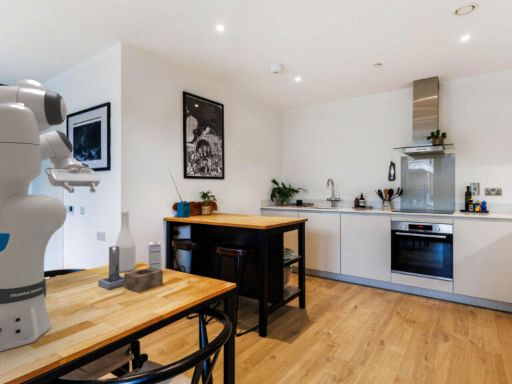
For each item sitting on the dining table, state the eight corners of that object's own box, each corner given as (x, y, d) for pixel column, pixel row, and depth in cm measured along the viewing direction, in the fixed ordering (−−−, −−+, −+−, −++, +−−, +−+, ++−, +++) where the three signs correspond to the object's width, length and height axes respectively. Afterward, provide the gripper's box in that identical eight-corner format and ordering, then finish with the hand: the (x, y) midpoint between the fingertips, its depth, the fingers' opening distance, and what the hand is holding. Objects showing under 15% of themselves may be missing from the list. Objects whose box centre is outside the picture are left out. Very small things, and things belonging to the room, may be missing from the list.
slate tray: (109, 290, 120) (109, 283, 120) (98, 285, 125) (98, 279, 125) (130, 284, 127) (130, 278, 127) (118, 280, 132) (118, 274, 132)
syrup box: (161, 273, 143) (161, 243, 143) (148, 274, 141) (148, 244, 141) (160, 270, 149) (160, 241, 148) (148, 271, 146) (148, 242, 146)
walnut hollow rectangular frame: (136, 292, 117) (136, 277, 117) (124, 288, 122) (124, 273, 122) (162, 284, 127) (162, 270, 127) (150, 280, 132) (150, 267, 132)
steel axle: (111, 284, 123) (112, 248, 123) (107, 282, 126) (107, 247, 126) (121, 282, 126) (121, 246, 126) (116, 280, 129) (116, 245, 129)
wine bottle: (134, 271, 146) (134, 210, 146) (113, 273, 144) (112, 210, 143) (136, 266, 155) (136, 209, 155) (116, 268, 153) (116, 209, 152)
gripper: (46, 162, 120) (61, 186, 116) (93, 165, 138) (108, 186, 134) (40, 173, 122) (54, 197, 118) (87, 175, 141) (101, 196, 136)
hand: (83, 191), depth 126 cm, fingers open, 8 cm apart
